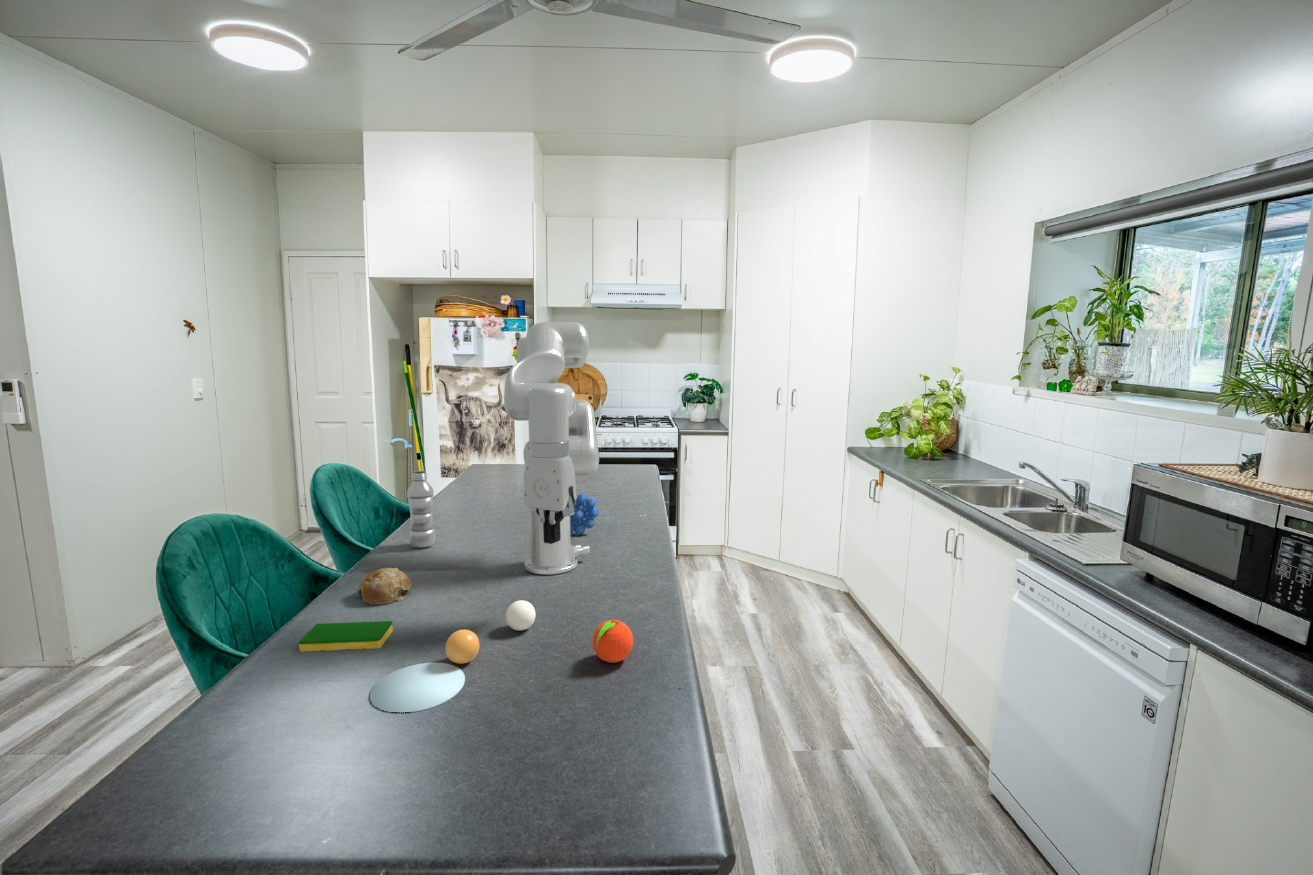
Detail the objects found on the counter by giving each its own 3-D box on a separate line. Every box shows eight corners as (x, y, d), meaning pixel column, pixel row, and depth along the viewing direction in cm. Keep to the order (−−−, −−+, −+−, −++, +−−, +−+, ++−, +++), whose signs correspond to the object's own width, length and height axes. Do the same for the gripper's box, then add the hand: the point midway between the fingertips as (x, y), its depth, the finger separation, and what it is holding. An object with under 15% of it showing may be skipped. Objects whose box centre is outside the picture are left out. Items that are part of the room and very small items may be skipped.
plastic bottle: (413, 542, 167) (409, 470, 164) (439, 542, 167) (435, 469, 164) (406, 550, 160) (401, 475, 157) (433, 550, 161) (428, 474, 158)
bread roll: (384, 624, 127) (397, 592, 126) (343, 600, 129) (355, 568, 127) (412, 604, 137) (424, 574, 135) (373, 582, 138) (385, 552, 136)
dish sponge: (317, 635, 116) (316, 623, 116) (393, 632, 117) (392, 620, 117) (299, 654, 109) (297, 641, 108) (380, 650, 110) (379, 638, 110)
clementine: (614, 677, 100) (613, 636, 99) (580, 666, 104) (579, 626, 103) (641, 656, 107) (640, 617, 106) (608, 646, 110) (608, 608, 109)
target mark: (455, 656, 107) (455, 655, 107) (473, 696, 95) (473, 695, 95) (366, 677, 100) (366, 675, 100) (373, 723, 88) (373, 722, 88)
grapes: (598, 529, 178) (597, 488, 177) (600, 536, 172) (599, 494, 170) (557, 531, 177) (556, 490, 175) (558, 538, 170) (556, 496, 168)
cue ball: (531, 620, 121) (530, 593, 120) (539, 631, 116) (539, 603, 115) (502, 626, 118) (501, 599, 117) (510, 638, 113) (509, 610, 112)
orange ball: (476, 650, 109) (474, 621, 108) (483, 664, 104) (482, 634, 103) (443, 658, 106) (441, 628, 105) (449, 673, 102) (447, 641, 101)
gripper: (507, 449, 120) (510, 540, 123) (567, 456, 113) (569, 553, 115) (533, 444, 127) (536, 531, 129) (592, 450, 119) (594, 542, 122)
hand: (552, 541), depth 122 cm, fingers closed
